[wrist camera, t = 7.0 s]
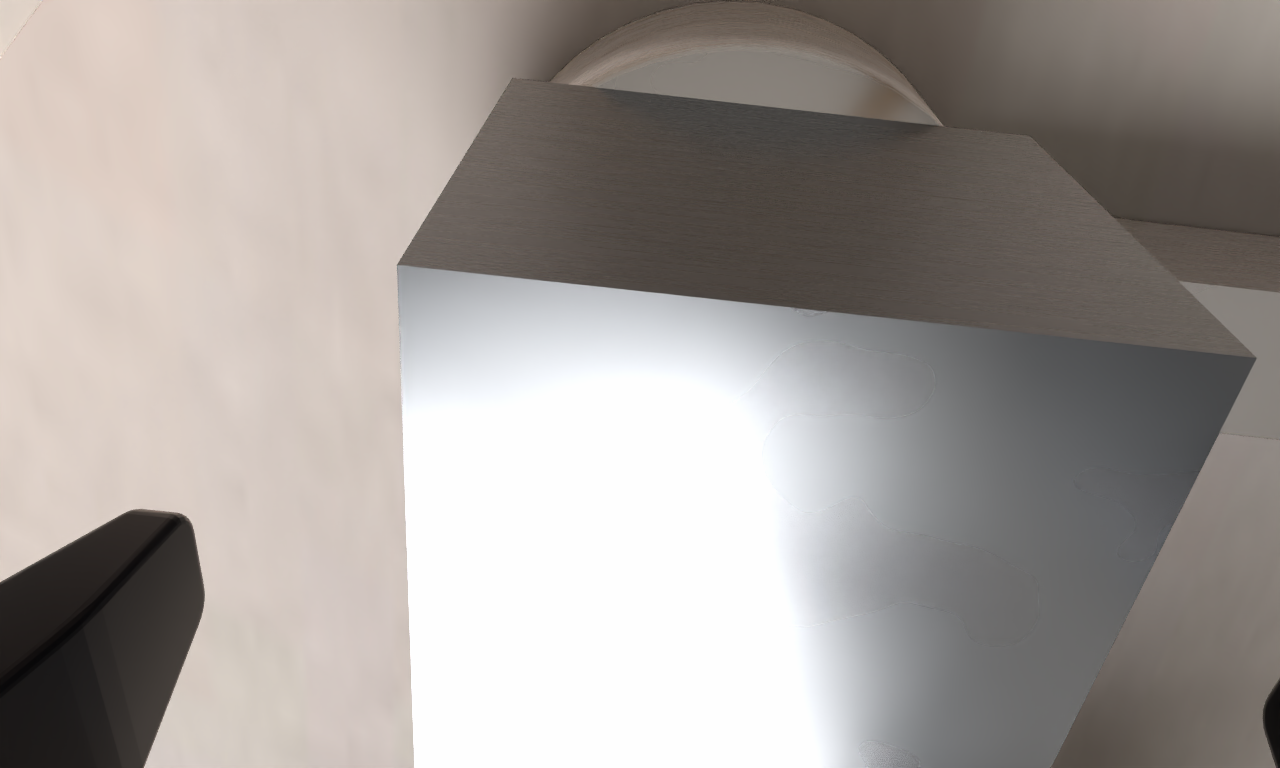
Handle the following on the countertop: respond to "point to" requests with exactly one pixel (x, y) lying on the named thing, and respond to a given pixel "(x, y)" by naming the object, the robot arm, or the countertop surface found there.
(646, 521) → the brushed metal cube
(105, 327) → the countertop surface
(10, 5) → the medicine bottle
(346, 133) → the countertop surface
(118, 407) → the countertop surface
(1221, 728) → the countertop surface
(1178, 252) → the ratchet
